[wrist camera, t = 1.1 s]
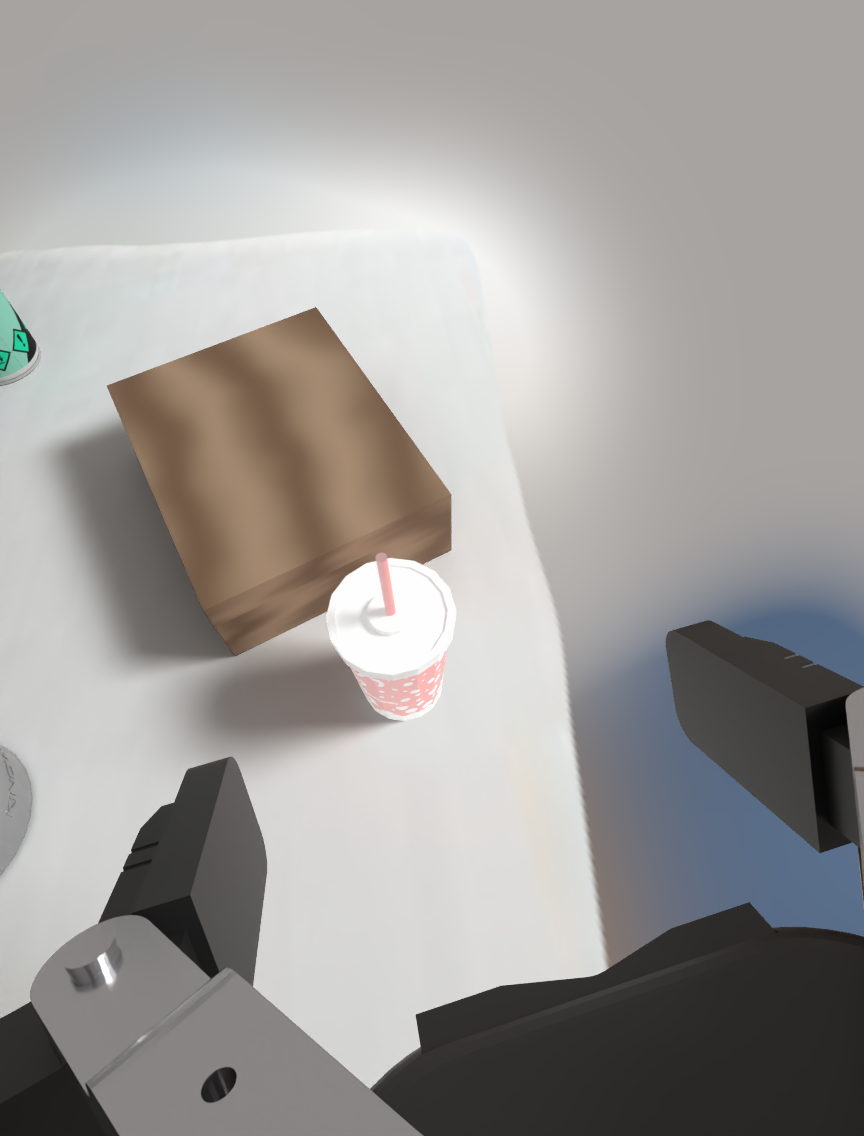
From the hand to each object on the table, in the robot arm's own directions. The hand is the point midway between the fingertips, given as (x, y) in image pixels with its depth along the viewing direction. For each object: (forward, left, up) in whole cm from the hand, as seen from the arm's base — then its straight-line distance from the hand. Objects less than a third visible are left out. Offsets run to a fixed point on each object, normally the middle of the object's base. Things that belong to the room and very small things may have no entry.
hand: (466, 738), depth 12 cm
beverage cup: (+3, +11, -25) cm, 28 cm away
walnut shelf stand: (+2, +27, -25) cm, 37 cm away
